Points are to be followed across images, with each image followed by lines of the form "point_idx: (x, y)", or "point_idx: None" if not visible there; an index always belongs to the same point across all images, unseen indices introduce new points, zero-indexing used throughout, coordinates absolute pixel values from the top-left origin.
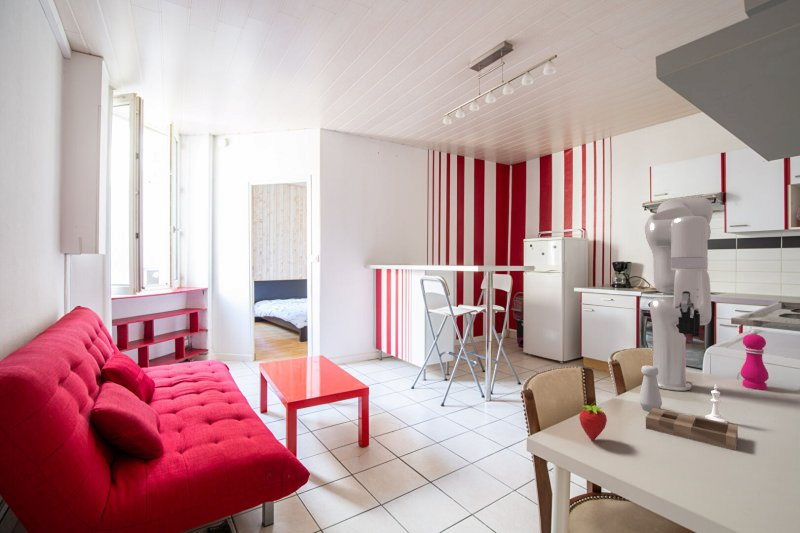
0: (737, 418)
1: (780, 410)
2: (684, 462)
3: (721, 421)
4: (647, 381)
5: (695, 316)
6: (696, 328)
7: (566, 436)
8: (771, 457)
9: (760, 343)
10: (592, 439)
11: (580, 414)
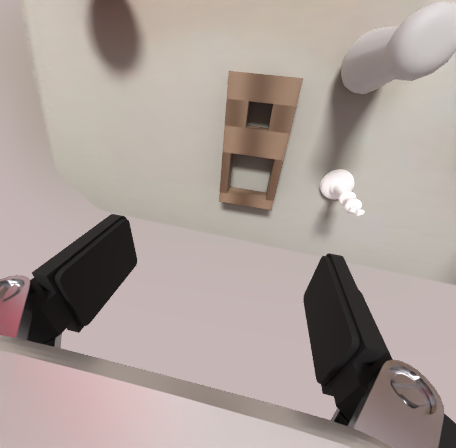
0: None
1: (429, 268)
2: (143, 139)
3: (322, 191)
4: (380, 46)
5: (321, 360)
6: (306, 291)
7: None
8: (225, 222)
9: None
10: None
11: None
